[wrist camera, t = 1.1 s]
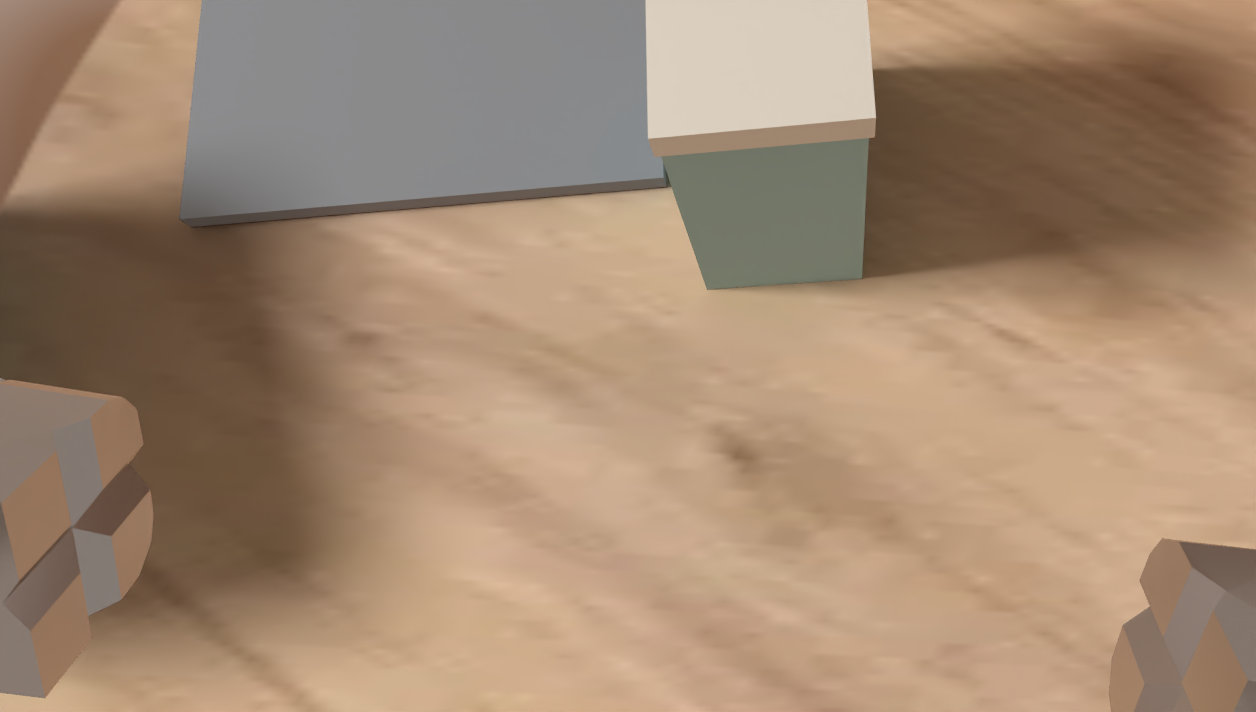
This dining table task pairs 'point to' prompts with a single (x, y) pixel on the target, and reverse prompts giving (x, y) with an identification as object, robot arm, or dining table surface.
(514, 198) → the felt mat
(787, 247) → the tea tin
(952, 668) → the dining table surface
